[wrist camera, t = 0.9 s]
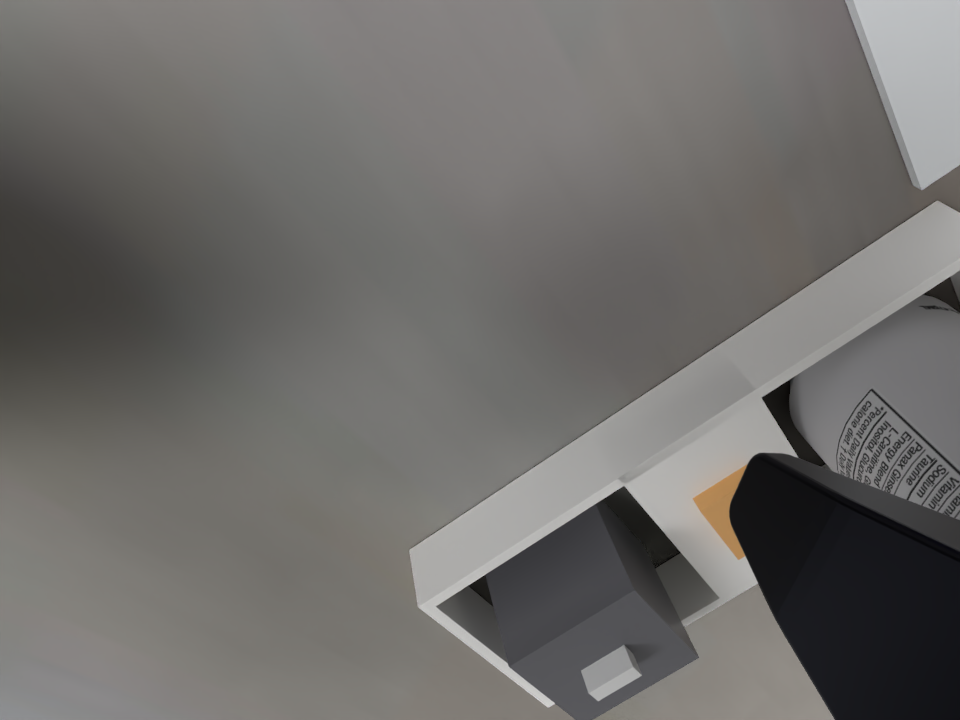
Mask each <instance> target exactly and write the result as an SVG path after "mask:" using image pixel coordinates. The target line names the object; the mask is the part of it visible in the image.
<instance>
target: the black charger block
mask: <svg viewBox="0 0 960 720" xmlns="http://www.w3.org/2000/svg"><path fill="white" fill-rule="evenodd" d="M485 575H486V579H487V583H488V587H489V591H490V595H491V599H492V603H493V607H494V611H495V615H496V619H497V623H498V626H499V630H500V634H501V638H502V642H503V646H504V650H505V654H506V658H507V662H508V666H509V667H510V668H511V669H512V670H513V671H515V672H516V673H517V674H518V675H520V676H521V677H522V678H524V679H525V680H526V681H527V682H529V683H530V684H531V685H532V686H534V687H535V688H536V689H537V690H539V691H540V692H541V693H542V694H544V695H545V696H546V697H548V698H549V699H550V700H551V701H553V702H554V703H555V704H556V705H558V706H559V707H560V708H561V709H563V710H564V711H565V712H567V713H568V714H569V715H570V716H572V717H573V718H574V719H575V720H593V719H595V718H596V717H598V716H600V715H601V714H603V713H605V712H607V711H608V710H610V709H612V708H613V707H615V706H617V705H619V704H620V703H622V702H624V701H625V700H627V699H629V698H631V697H632V696H634V695H636V694H637V693H639V692H641V691H643V690H644V689H646V688H648V687H649V686H651V685H653V684H655V683H656V682H658V681H660V680H661V679H663V678H665V677H667V676H668V675H670V674H672V673H673V672H675V671H677V670H679V669H680V668H682V667H684V666H685V665H687V664H689V663H691V662H692V661H694V660H696V659H697V658H699V656H698V654H697V652H696V650H695V648H694V646H693V644H692V642H691V640H690V638H689V636H688V634H687V632H686V630H685V628H684V626H683V624H682V622H681V620H680V618H679V616H678V614H677V612H676V610H675V608H674V606H673V604H672V602H671V600H670V598H669V596H668V594H667V592H666V590H665V588H664V586H663V584H662V582H661V580H660V578H659V576H658V573H657V571H656V569H655V567H654V565H653V563H652V561H651V559H650V557H649V555H648V553H647V551H646V549H645V547H644V546H643V545H642V543H641V542H640V541H639V540H638V539H637V538H636V537H635V536H634V534H633V533H632V532H631V531H630V530H629V529H628V528H627V527H626V525H625V524H624V523H623V522H622V521H621V520H620V519H619V518H618V516H617V515H616V514H615V513H614V512H613V511H612V510H611V509H610V508H609V506H608V505H607V504H606V503H605V502H604V501H603V500H601V501H599V502H598V503H596V504H595V505H593V506H592V507H590V508H588V509H587V510H585V511H584V512H582V513H581V514H579V515H578V516H576V517H574V518H573V519H571V520H570V521H568V522H567V523H565V524H564V525H562V526H560V527H559V528H557V529H556V530H554V531H553V532H551V533H549V534H548V535H546V536H545V537H543V538H542V539H540V540H539V541H537V542H535V543H534V544H532V545H531V546H529V547H528V548H526V549H525V550H523V551H521V552H520V553H518V554H517V555H515V556H514V557H512V558H510V559H509V560H507V561H506V562H504V563H503V564H501V565H500V566H498V567H496V568H495V569H493V570H492V571H490V572H489V573H487V574H485Z"/></svg>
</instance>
